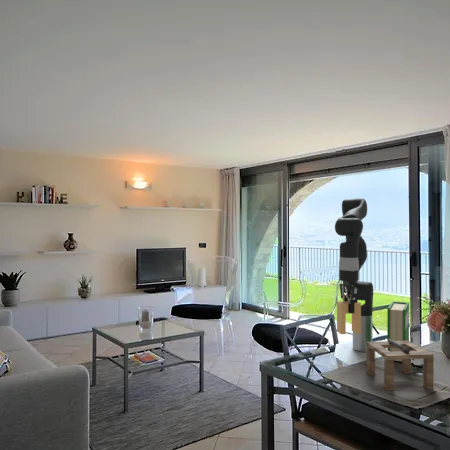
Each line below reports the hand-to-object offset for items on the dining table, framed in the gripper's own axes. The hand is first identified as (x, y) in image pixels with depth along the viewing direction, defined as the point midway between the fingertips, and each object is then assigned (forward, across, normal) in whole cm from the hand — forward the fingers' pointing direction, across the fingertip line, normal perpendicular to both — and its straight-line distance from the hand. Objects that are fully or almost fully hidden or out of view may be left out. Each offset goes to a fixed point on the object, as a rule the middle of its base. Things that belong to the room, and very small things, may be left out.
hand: (348, 311), depth 166 cm
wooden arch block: (+8, 0, 0) cm, 8 cm away
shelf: (+27, +3, +19) cm, 33 cm away
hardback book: (+28, -24, +34) cm, 50 cm away
